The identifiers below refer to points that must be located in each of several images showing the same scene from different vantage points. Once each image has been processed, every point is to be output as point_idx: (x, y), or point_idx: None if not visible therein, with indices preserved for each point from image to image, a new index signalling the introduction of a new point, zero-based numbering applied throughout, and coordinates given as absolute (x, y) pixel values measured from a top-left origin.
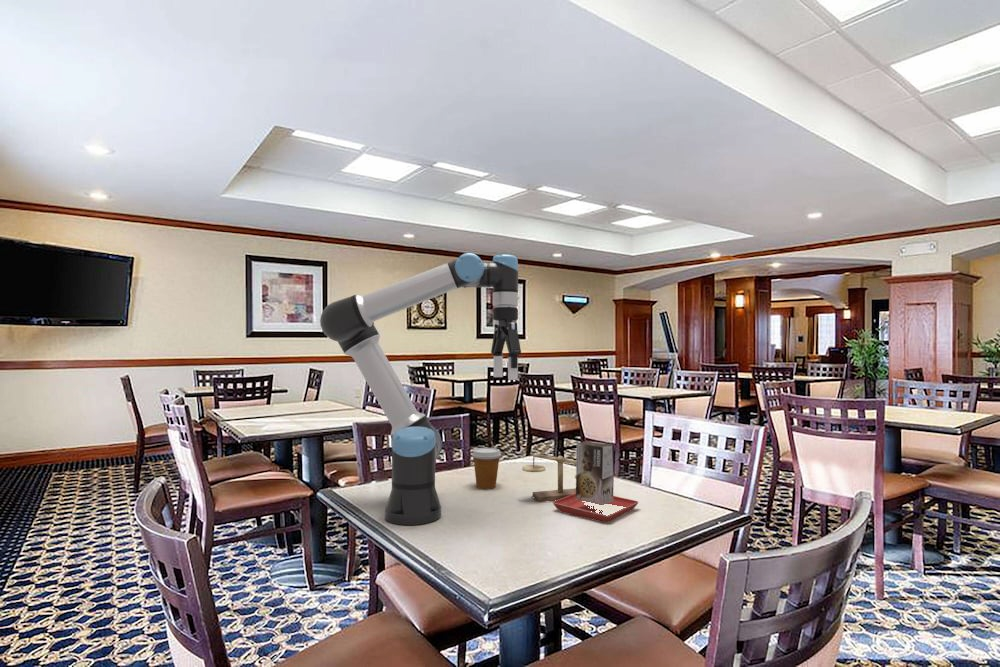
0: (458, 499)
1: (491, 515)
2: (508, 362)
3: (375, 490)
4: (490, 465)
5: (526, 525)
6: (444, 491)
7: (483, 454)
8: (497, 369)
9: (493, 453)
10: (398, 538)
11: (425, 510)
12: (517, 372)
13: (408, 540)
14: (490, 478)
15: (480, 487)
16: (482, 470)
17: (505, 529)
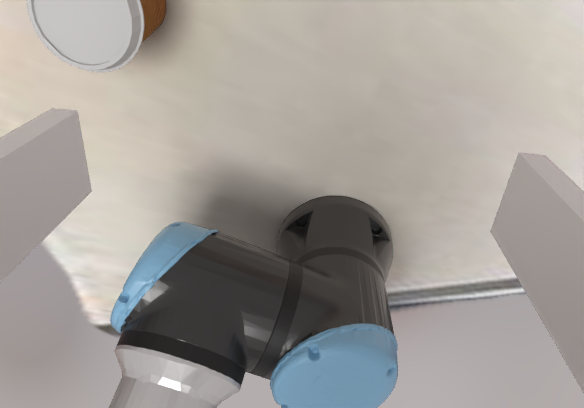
0: (244, 124)
1: (405, 97)
2: (577, 357)
3: (118, 263)
4: (147, 11)
5: (521, 49)
6: (160, 132)
7: (132, 46)
8: (44, 199)
9: (130, 4)
10: (439, 291)
11: (391, 252)
12: (578, 192)
13: (458, 281)
14: (157, 3)
15: (155, 29)
16: (146, 36)
17: (513, 108)
